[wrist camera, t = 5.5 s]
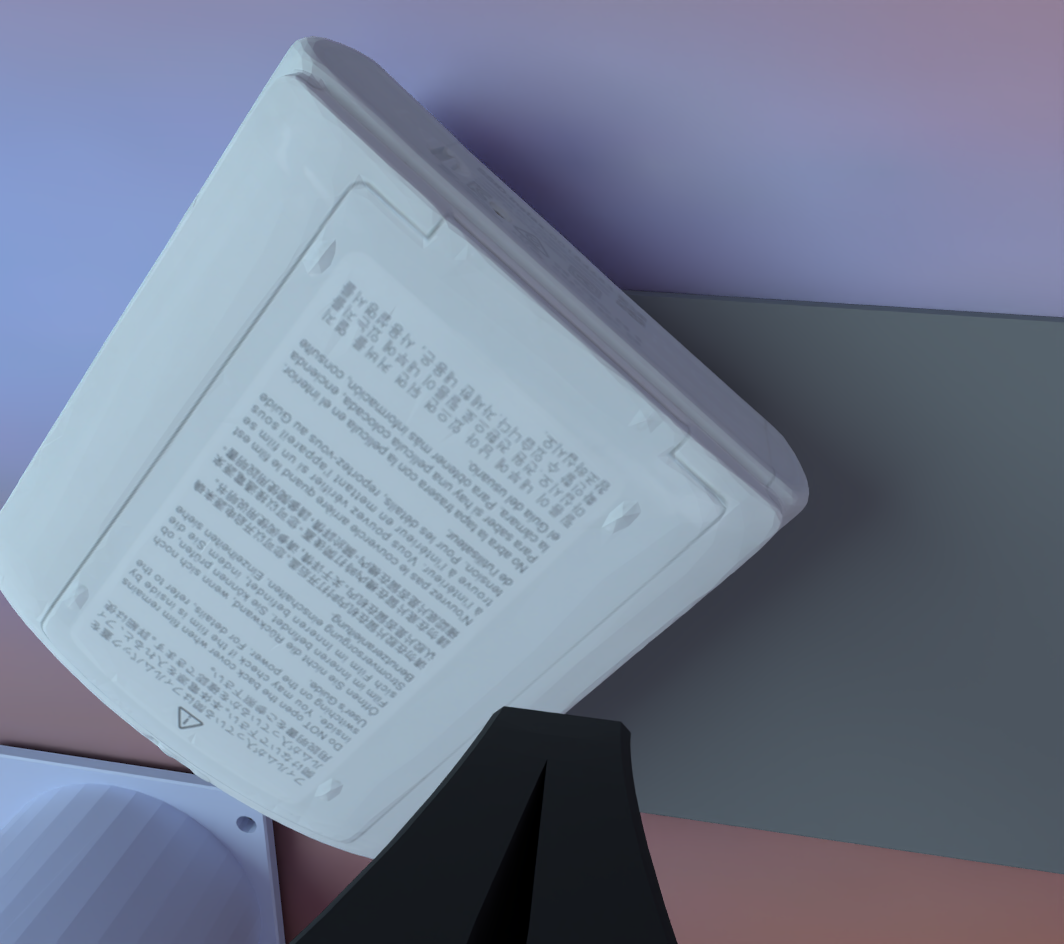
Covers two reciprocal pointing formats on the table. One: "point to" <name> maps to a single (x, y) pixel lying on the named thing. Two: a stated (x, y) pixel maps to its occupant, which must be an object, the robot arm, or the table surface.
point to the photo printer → (373, 468)
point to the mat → (875, 591)
